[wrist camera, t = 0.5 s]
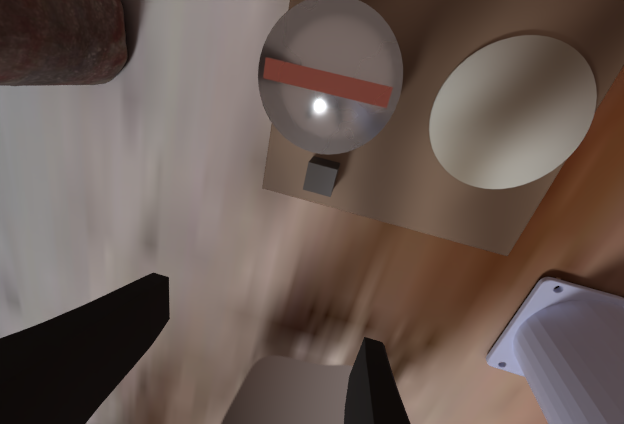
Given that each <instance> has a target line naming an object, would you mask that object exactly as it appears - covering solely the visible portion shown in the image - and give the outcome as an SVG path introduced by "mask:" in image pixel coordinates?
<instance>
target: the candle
mask: <svg viewBox="0 0 624 424" xmlns="http://www.w3.org/2000/svg"><path fill="white" fill-rule="evenodd" d="M125 39H126V33H125V25H124V13H123V6H122V3H121V1H120V0H0V85H10V86H23V85H96V84H103V83H107V82H109V81H111V80H112V79H113V78H114V77H115V76H116V74H118V73H119V72H120V70H121V69H122V68H123V66H124V64H125V62H126V60H127V47H126V43H125Z"/></svg>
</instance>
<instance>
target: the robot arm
mask: <svg viewBox="0 0 624 424" xmlns="http://www.w3.org/2000/svg"><path fill="white" fill-rule="evenodd" d="M556 286H559V287H558V288H556V289H554V288H555V287H556ZM169 319H170V317H169V277H166V276H163V275H159V274H156V273H151V274H149V275H147V276H145V277H143V278H140V279H138V280H136V281H134V282H132V283H130V284H128V285H126V286H124V287H122V288H119V289H117V290H115V291H113V292H111V293H109V294H107V295H105V296H102V297H100V298H98V299H96V300H94V301H92V302H89V303H87V304H85V305H83V306H81V307H78V308H76V309H74V310H71V311H69V312H66V313H64V314H62V315H59V316H57V317H55V318H52V319H50V320H48V321H45V322H43V323H40V324H38V325H35V326H33V327H30V328H28V329H25V330H22V331H20V332H17V333H14V334H11V335H8V336H6V337H3V338H0V424H86V422H87V421H88V420H89V418H90V417H91V416H92V415H93V413H94V412H95V411H96V410H97V409H98V407H99V406H100V405H101V404H102V402H103V401H104V400H105V399H106V398H107V397H108V396H109V394H110V393H111V392H112V391H113V390H114V389H115V387H116V386H117V385H118V384H119V383H120V382H121V380H122V379H123V378H124V377H125V376H126V375H127V374H128V372H129V371H130V370H131V369H132V368H133V367H134V365H135V364H136V363H137V362H138V361H139V360H140V358H141V357H142V356H143V355H144V354H145V352H146V351H147V350H148V349H149V348H150V346H151V345H152V344H153V343H154V341H155V340H156V338H157V337H158V335H159V334H160V332H161V331H162V329H163V328H164V326H165V325H166V323H167V322H168V320H169ZM486 361H487V363H488V365H490V366H492V367H495V368H498V369H501V370H505V371H508V372H511V373H514V374H518V375H521V376H524V377H525V378H526V380H527V382H528V384H529V386H530V388H531V390H532V392H533V394H534V396H535V398H536V400H537V402H538V404H539V406H540V408H541V410H542V412H543V414H544V416H545V418H546V420H547V422H548V424H624V297H620V296H617V295H613V294H610V293H606V292H602V291H599V290H595V289H592V288H588V287H584V286H581V285H577V284H574V283H570V282H567V281H563V280H559V279H556V278H552V277H544V278H542V279H540V280H539V281H538V283H537V284H536V286H535V287H534V289H533V290H532V291H531V293H530V294H529V296H528V297H527V299H526V300H525V302H524V303H523V304H522V306H521V307H520V309H519V310H518V312H517V313H516V314H515V316H514V317H513V319H512V320H511V322H510V323H509V325H508V326H507V327H506V329H505V330H504V332H503V333H502V335H501V336H500V337H499V339H498V340H497V342H496V343H495V345H494V346H493V348H492V349H491V350H490V352H489V353H488V355H487V356H486ZM500 362H501V363H500ZM344 424H410V421H409V419H408V416H407V413H406V411H405V408H404V405H403V403H402V400H401V397H400V395H399V392H398V389H397V386H396V383H395V380H394V377H393V374H392V371H391V367H390V364H389V361H388V357H387V354H386V350H385V346H384V344H383V343H382V342H380V341H376V340H373V339H370V338H366V337H364V340H363V342H362V345H361V347H360V350H359V352H358V355H357V358H356V360H355V363H354V365H353V368H352V371H351V373H350V376H349V382H348V389H347V396H346V403H345V416H344Z"/></svg>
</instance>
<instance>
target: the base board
mask: <svg viewBox="0 0 624 424" xmlns="http://www.w3.org/2000/svg"><path fill="white" fill-rule="evenodd" d="M303 1H305V0H290V3H289V10H290V9H291V8H293V7H294V6H295V5H297V4H299V3H301V2H303ZM359 1H362V2H364V3H366V4H367V5H369V6H370V7H371V8H373V9H374V10H375V11H376V12H378V13H379V14H380V15H381V16H382V17H383V19H384V20H385V21H386V22H387V24H388V25H389V26H390V28H391V30H392V32H393V33H394V35H395V37H396V40H397V42H398V45H399V48H400V52H401V56H402V64H403V82H402V89H401V93H400V97H399V101H398V103H397V106H396V108H395V111H394V112H393V114H392V116H391V118H390V120H389V121H388V122H387V124H386V125H385V127H384V128H383V129H382V130H381V131H380V132H379V133H378V134H377V135H376V136H375V137H374V138H373V139H371V140H370V141H369V142H367V143H366V144H364V145H363V146H361V147H359V148H356V149H354V150H351V151H348V152H345V153H340V154H330V155H328V154H318V153H313V152H310V151H307V150H304V149H302V148H300V147H298V146H296V145H294V144H293V143H291V142H290V141H288V140H287V139H286V138H285V137H284V136H282V134H281V133H280V132H279V131H278V130H277V129H276V128H275V126H274V125H273V124H272V125H271V132H270V139H269V146H268V153H267V159H266V166H265V173H264V180H263V187H262V188H263V189H267V190H271V191H274V192H278V193H282V194H285V195H289V196H292V197H296V198H300V199H303V200H307V201H310V202H314V203H318V204H321V205H325V206H328V207H332V208H336V209H339V210H343V211H346V212H350V213H354V214H357V215H361V216H364V217H368V218H372V219H375V220H379V221H382V222H386V223H390V224H393V225H397V226H401V227H404V228H408V229H411V230H415V231H419V232H422V233H426V234H429V235H433V236H437V237H440V238H444V239H447V240H451V241H455V242H458V243H462V244H465V245H469V246H473V247H476V248H480V249H483V250H487V251H491V252H494V253H498V254H501V255H505V256H508V254H509V253H510V251H511V249H512V248H513V246H514V245H515V243H516V241H517V240H518V238H519V236H520V235H521V233H522V231H523V230H524V228H525V226H526V225H527V223H528V222H529V220H530V218H531V217H532V215H533V213H534V212H535V210H536V208H537V207H538V205H539V203H540V202H541V200H542V198H543V197H544V195H545V194H546V192H547V190H548V189H549V187H550V185H551V184H552V182H553V180H554V179H555V177H556V175H557V174H558V172H559V170H560V169H561V167H562V166H563V164H564V162H565V161H566V159H567V158H568V157H569V156H570V155H571V154H572V153H573V152H574V151H575V149H576V148H577V147H578V146H579V144H580V143H581V141H582V140H583V139H584V137H585V135H586V133H587V131H588V129H589V127H590V125H591V122H592V120H593V116H594V113H595V111H596V110H597V108H598V106H599V105H600V103H601V101H602V100H603V98H604V96H605V95H606V93H607V91H608V90H609V88H610V87H611V85H612V83H613V82H614V80H615V78H616V77H617V75H618V73H619V72H620V70H621V68H622V67H623V65H624V0H359ZM289 10H288V11H289Z"/></svg>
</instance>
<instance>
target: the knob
mask: <svg viewBox="0 0 624 424" xmlns="http://www.w3.org/2000/svg"><path fill="white" fill-rule="evenodd" d="M258 82H259V91H260V96H261V100H262V103H263V106H264V109H265V111H266V113H267V115H268V117H269V119H270V121H271V122H272V124H273V125H274V126H275V128H276V129H277V130H278V131H279V132H280V133H281V134H282V136H284V137H285V138H286V139H287V140H288V141H290V142H291V143H293V144H294V145H296V146H298V147H300V148H302V149H304V150H307V151H310V152H313V153H318V154H328V155H330V154H340V153H345V152H348V151H351V150H354V149H356V148H359V147H361V146H363V145H364V144H366V143H367V142H369V141H370V140H371V139H373V138H374V137H375V136H376V135H377V134H378V133H379V132H380V131H381V130H382V129H383V128H384V127H385V125H386V124H387V122H388V121H389V120H390V118H391V116H392V114H393V112H394V111H395V108H396V106H397V103H398V101H399V97H400V93H401V89H402V82H403V64H402V56H401V52H400V48H399V45H398V42H397V40H396V37H395V35H394V33H393V32H392V30H391V28H390V26H389V25H388V24H387V22H386V21H385V20H384V19H383V17H382V16H381V15H380V14H379V13H378V12H376V11H375V10H374V9H373V8H371V7H370V6H369V5H367V4H366V3H364V2H362V1H359V0H305V1H303V2H301V3H299V4H297V5H295V6H294V7H293V8H291V9H290V10H289V11H287V12H286V13H285V14H284V15H283V16H282V17H281V18H280V19H279V20H278V22H277V23H276V24H275V26H274V27H273V28H272V30H271V32H270V33H269V35H268V37H267V39H266V41H265V44H264V46H263V49H262V53H261V56H260V62H259V71H258Z"/></svg>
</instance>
